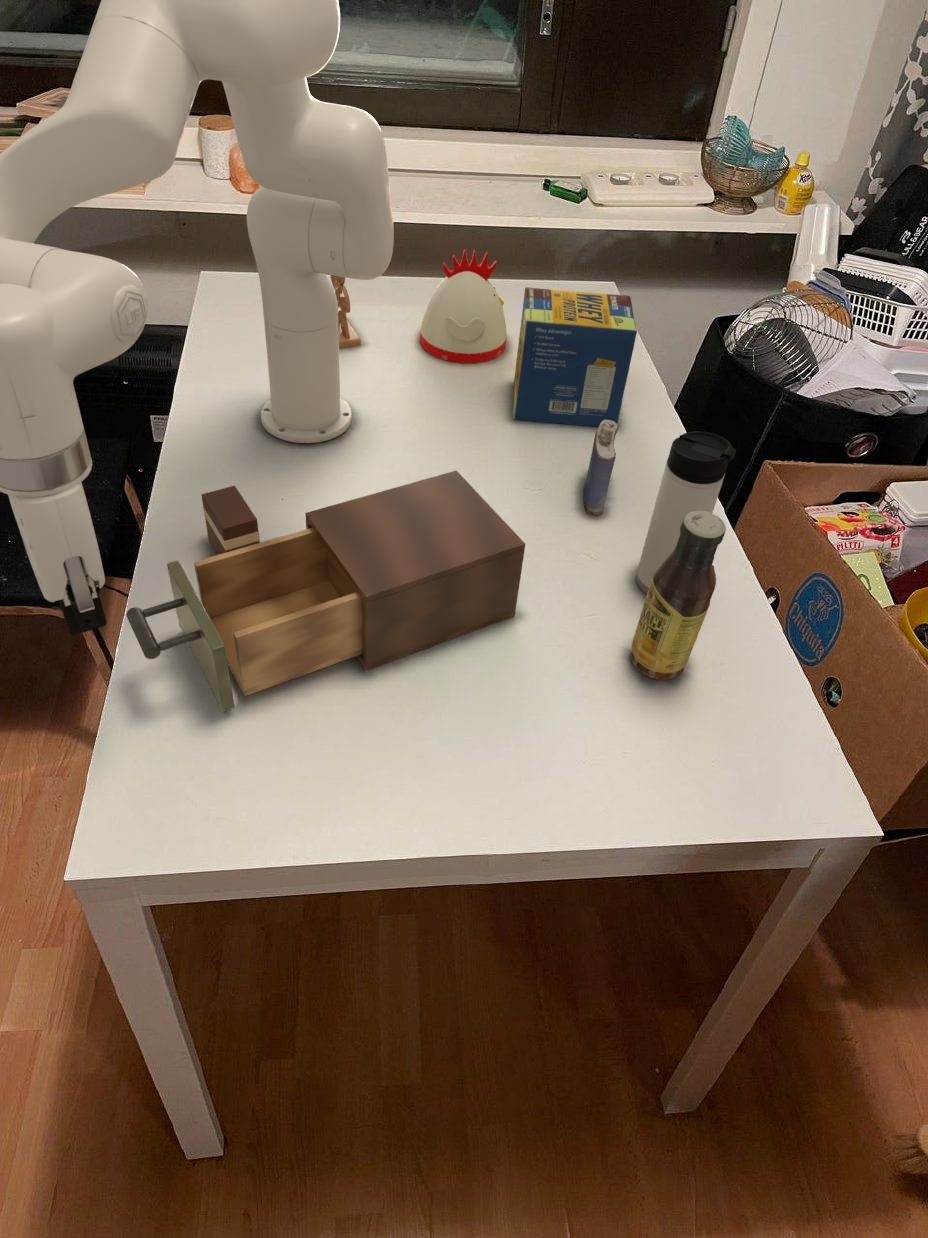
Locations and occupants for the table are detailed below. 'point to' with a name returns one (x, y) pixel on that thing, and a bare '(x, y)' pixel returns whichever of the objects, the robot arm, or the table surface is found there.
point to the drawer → (261, 614)
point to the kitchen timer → (465, 315)
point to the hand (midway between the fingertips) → (86, 624)
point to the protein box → (573, 356)
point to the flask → (600, 468)
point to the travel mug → (683, 494)
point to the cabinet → (423, 563)
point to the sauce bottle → (678, 599)
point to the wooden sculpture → (344, 315)
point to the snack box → (229, 520)
